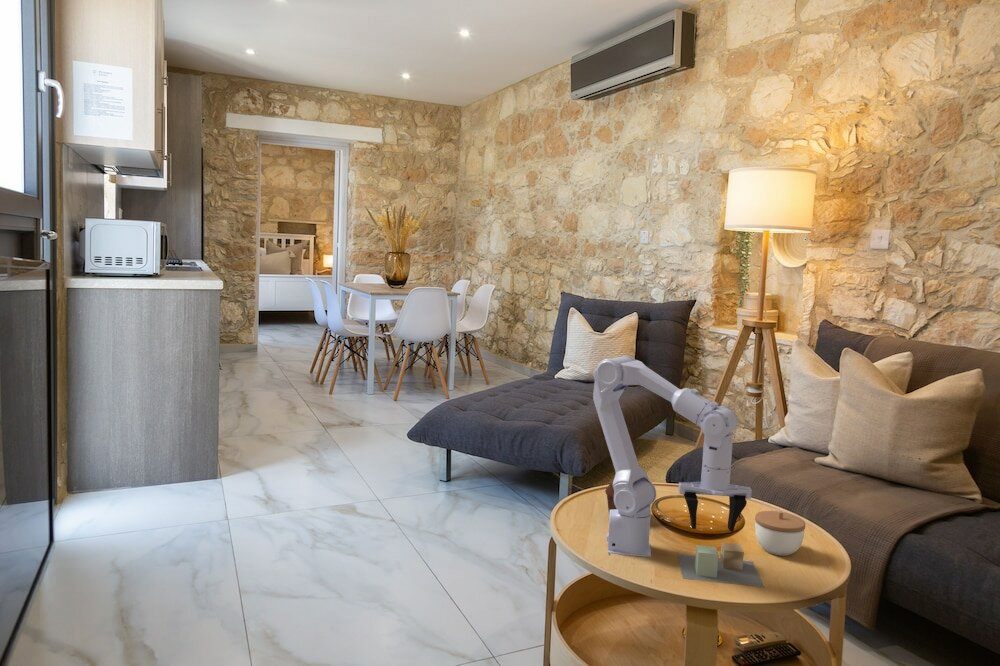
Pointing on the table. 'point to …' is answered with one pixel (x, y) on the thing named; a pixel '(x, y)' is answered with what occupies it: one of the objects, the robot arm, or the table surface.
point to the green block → (706, 561)
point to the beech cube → (732, 556)
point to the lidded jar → (779, 532)
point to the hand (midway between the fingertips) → (711, 528)
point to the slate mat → (722, 572)
